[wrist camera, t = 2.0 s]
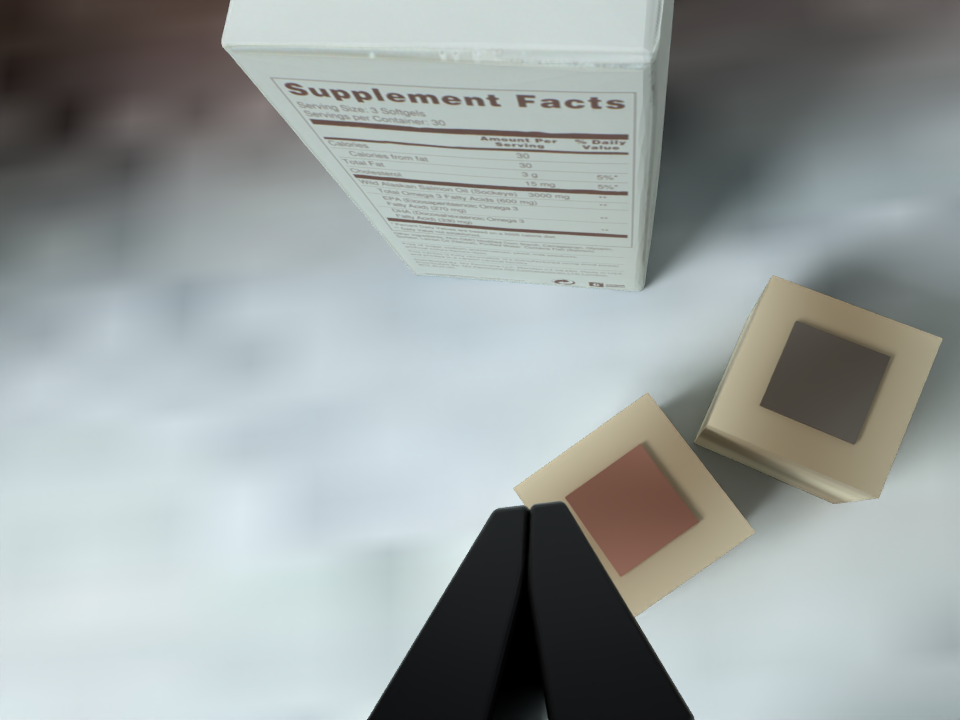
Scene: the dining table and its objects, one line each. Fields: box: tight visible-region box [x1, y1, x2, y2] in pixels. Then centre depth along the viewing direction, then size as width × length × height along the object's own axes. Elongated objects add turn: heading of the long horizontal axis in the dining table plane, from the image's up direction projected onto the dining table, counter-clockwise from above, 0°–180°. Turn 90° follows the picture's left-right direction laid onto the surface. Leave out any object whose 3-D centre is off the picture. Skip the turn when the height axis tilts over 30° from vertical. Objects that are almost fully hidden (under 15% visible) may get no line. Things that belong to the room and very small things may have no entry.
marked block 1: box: [513, 393, 755, 618], centre depth 20 cm, size 4×4×4 cm
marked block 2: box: [694, 275, 943, 504], centre depth 20 cm, size 4×4×4 cm
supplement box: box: [222, 0, 674, 291], centre depth 19 cm, size 7×7×13 cm
